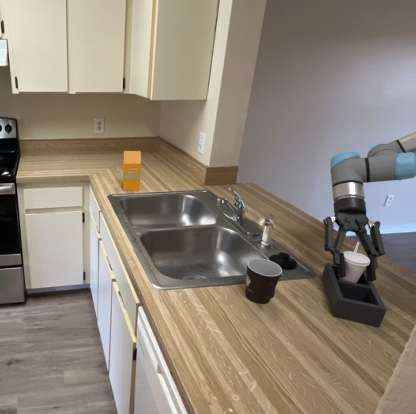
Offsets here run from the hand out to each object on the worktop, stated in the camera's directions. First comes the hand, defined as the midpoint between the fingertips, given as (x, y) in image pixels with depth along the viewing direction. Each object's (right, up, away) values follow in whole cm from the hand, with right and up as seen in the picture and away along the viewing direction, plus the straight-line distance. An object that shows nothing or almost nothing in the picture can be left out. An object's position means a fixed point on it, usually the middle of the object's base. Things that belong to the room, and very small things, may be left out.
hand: (356, 278), depth 90 cm
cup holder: (-1, -7, +2) cm, 7 cm away
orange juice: (-52, +30, +87) cm, 106 cm away
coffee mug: (-26, -7, +3) cm, 27 cm away
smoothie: (+1, -3, +5) cm, 6 cm away
